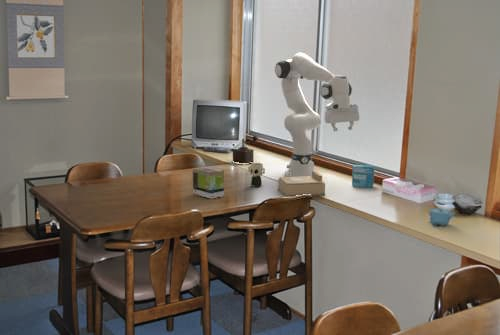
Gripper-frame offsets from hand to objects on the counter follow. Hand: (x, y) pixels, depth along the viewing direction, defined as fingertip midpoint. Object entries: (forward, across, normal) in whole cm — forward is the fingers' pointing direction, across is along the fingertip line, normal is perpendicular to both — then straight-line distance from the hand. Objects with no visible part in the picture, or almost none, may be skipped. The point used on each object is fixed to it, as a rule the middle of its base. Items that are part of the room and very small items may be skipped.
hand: (342, 130), depth 352 cm
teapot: (+42, -6, +70) cm, 82 cm away
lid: (+26, +23, -8) cm, 35 cm away
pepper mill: (+23, +17, -97) cm, 101 cm away
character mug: (+30, +40, -31) cm, 59 cm away
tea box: (+30, +73, -21) cm, 82 cm away
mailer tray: (+32, +23, -8) cm, 41 cm away
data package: (+34, -16, -8) cm, 38 cm away
